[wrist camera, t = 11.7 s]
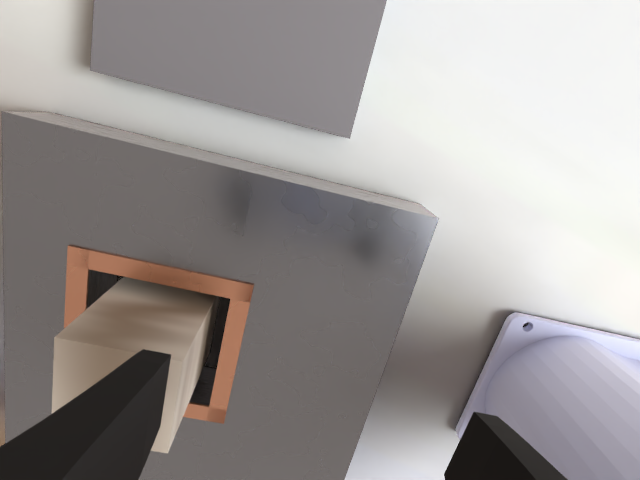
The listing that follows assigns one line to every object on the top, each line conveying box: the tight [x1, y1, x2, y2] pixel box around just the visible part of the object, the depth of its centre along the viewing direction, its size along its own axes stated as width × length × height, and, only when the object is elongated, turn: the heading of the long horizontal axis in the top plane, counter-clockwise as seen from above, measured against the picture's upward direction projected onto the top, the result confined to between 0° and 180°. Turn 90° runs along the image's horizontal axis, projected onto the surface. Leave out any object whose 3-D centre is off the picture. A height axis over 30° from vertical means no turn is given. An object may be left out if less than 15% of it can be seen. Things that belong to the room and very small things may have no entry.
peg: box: [52, 277, 220, 453], centre depth 15 cm, size 4×4×6 cm
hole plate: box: [2, 111, 439, 480], centre depth 17 cm, size 16×16×3 cm
